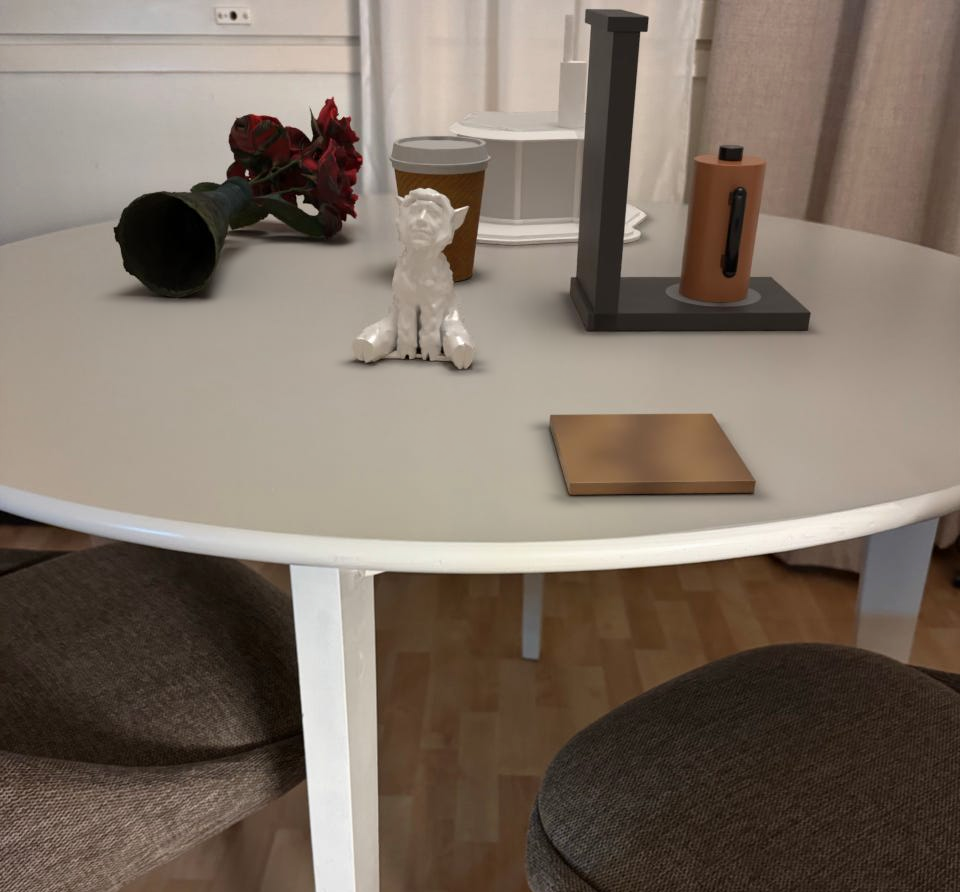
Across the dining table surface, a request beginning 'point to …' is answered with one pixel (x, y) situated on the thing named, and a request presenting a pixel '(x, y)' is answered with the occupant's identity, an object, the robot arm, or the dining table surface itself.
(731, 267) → the thermos flask
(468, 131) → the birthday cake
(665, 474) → the trivet
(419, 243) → the white creature statuette
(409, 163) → the disposable coffee cup
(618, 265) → the coffee maker
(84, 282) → the dining table surface
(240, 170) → the red rose bouquet
